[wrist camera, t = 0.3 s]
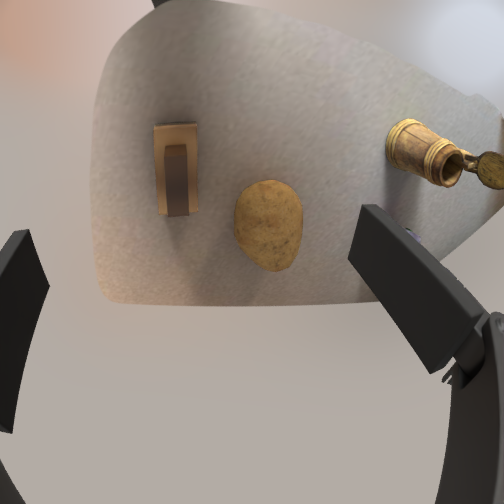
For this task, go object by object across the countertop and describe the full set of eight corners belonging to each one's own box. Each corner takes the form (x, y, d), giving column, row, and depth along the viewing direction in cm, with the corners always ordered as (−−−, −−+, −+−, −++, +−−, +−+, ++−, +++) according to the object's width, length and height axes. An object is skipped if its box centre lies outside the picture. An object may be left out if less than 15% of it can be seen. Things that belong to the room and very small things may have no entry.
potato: (240, 258, 48) (252, 292, 42) (217, 179, 39) (226, 205, 33) (298, 240, 48) (317, 270, 42) (285, 160, 40) (308, 181, 34)
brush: (155, 124, 33) (150, 138, 26) (195, 121, 34) (200, 135, 28) (159, 203, 39) (158, 233, 33) (196, 200, 40) (201, 230, 34)
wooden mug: (440, 157, 45) (512, 203, 31) (386, 173, 45) (462, 231, 31) (440, 112, 40) (521, 150, 25) (383, 123, 39) (471, 168, 25)
